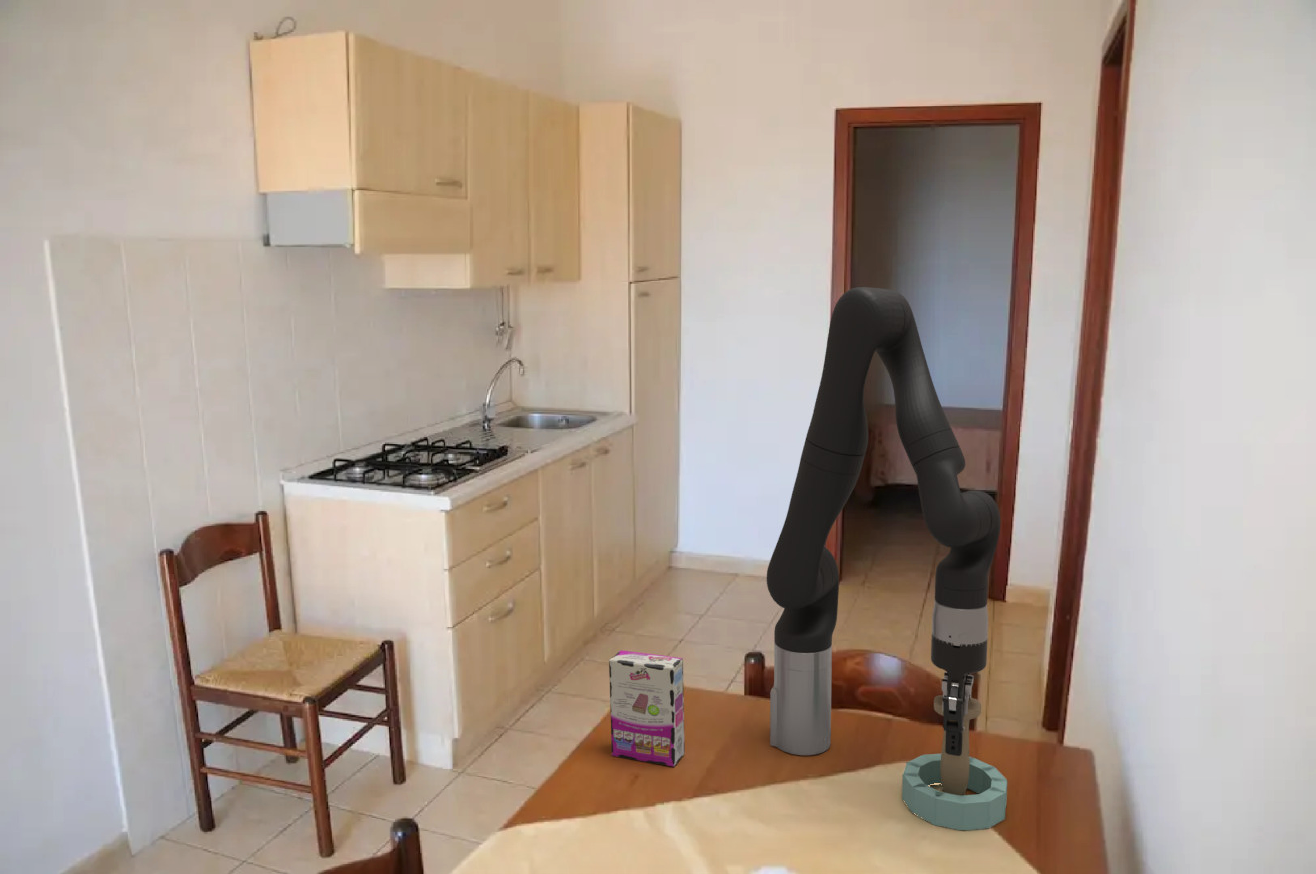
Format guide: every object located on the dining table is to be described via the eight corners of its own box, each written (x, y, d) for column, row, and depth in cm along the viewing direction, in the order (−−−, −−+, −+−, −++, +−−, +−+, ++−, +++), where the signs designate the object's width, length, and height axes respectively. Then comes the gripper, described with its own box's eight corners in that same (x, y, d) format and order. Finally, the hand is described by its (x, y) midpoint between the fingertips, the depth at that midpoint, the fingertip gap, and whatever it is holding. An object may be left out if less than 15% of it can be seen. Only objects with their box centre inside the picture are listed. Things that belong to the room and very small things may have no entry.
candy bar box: (685, 754, 153) (685, 657, 150) (674, 768, 148) (673, 668, 146) (622, 742, 157) (620, 648, 154) (609, 756, 152) (607, 659, 150)
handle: (977, 811, 134) (982, 712, 132) (930, 805, 136) (933, 707, 133) (976, 793, 139) (980, 697, 136) (930, 787, 140) (933, 692, 138)
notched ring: (896, 818, 133) (896, 791, 133) (910, 771, 146) (911, 747, 145) (1002, 839, 128) (1003, 811, 127) (1008, 788, 141) (1009, 763, 140)
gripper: (938, 613, 141) (934, 722, 144) (925, 646, 128) (921, 765, 131) (991, 619, 138) (986, 730, 141) (983, 654, 125) (978, 775, 128)
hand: (955, 746), depth 136 cm, fingers closed on handle, 4 cm apart
